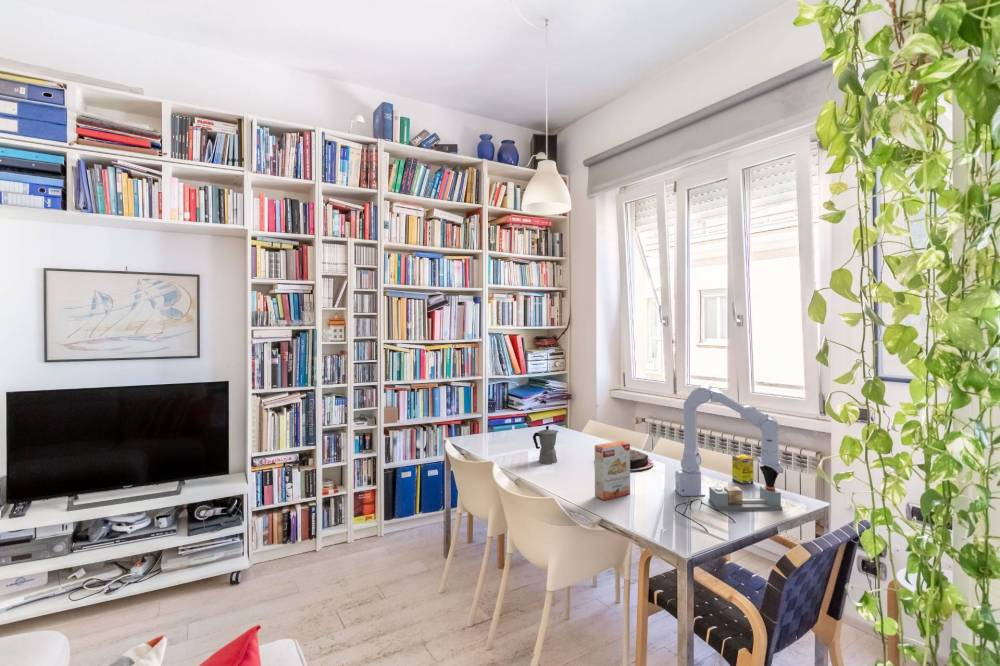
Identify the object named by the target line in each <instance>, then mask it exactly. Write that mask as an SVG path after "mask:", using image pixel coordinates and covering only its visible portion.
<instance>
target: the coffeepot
mask: <svg viewBox="0 0 1000 666" xmlns="http://www.w3.org/2000/svg"><path fill="white" fill-rule="evenodd" d="M549 427H550V426H549V425H546V426H545V429H542V430H539V431H537V432H534V433H533V435H532V439H533V443H534V446H535V448H536V450H537V449H538V450H539V449H540V450H539V457H538V462H539V463H540V464H544V465H552V463H554V464H556V463H557V462H558V458H557V452H556V449H555V445H556V441H557V435H558V434H557V433H558V432H559V430H556V429H550V428H549ZM537 437H538V439H539V443H538V441H537ZM538 444H540V446H538Z"/></svg>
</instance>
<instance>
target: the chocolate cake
mask: <svg viewBox="0 0 1000 666" xmlns="http://www.w3.org/2000/svg"><path fill="white" fill-rule="evenodd" d="M653 466H654V461H653V460H652V459H651V458H649V455H648V454H645V453H644V452H641V451H639V450H635V449H631V448H630V471H632V472H641V470H642V471H645V470H648V469H649V468H651V467H653Z"/></svg>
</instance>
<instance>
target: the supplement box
mask: <svg viewBox="0 0 1000 666" xmlns="http://www.w3.org/2000/svg"><path fill="white" fill-rule="evenodd" d="M731 457H732V459H731V460H732V461H731V462H732V463H731V467H732V468H731V470H732V472H731V473H732V475H731V477H732V478H731V479H732V481H733V482H735V483H737V484H740V485H742V486H743V485H748V484H754V457H752V456H750V455H749V456H748V455H746V454H738V455H732V456H731ZM749 482H751V483H749Z"/></svg>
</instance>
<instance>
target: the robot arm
mask: <svg viewBox="0 0 1000 666" xmlns="http://www.w3.org/2000/svg"><path fill="white" fill-rule="evenodd" d="M708 402H710V403H720V404H722V405H724V406H726V407H727V408H730V409H731V410H733V411H735V412H737V413H738V414H739V416H740V418H741V419H742V420H744V421H746V422H748V423H749V424H750V425H752V426H754V427H755V428H756V429H757V428H759V429H760V432H761V437H760V456H757V462H758V463H760V464H761V466H759V469H760V471H761V474H763V478H764V481H765V485H766V486H768V487H774V486H775V483H776V481H777V478H778V476H779V474H784V467H783V466H782V465H783V463H782V461H780V459H779V458H780V457H779V455H780V454H779V453H780V452H779V450H780V449H779V447H780V445H779V444H780V443H779V441H780V440H779V433H778V432H779V422H778V420H777V419H776V418H775V417H773V416H770V415H769V414H767V413H766V414H765V413H763V412H762V411H760V410H758V409H757V407H756V406H755V405H753V406H751V405H743V404H741V403H740V402H739V401H736V400H735V399H734V398H732V397H730V396H729V395H727V394H726V393H724V392H723V391H721V390H719V389H717V388H716V387H712V386H711V385H710V384H705V383H704V384H701V385H699V386H698V387H696V388H695V389H694V390H692V391H691V392H690V394H689V395H688V397H686V399H685V401H684V402H683V435H684V436H683V437H684V438H683V440H684V447H683V448H684V449H683V452H682V459H681V460H680V467H681V470H680V469H679V470H677V471H675V475H674V476H675V478H674V479H675V480H674V481H675V482H674V483H675V486H674V487H675V488H674V489H675V491H676V492H677V493H678V494H679V496H681V497H689V496H690V497H693V496H696V497H700V496H701V497H704V496H706V494H705V493H704V492H703V491H702V469H700V465H701V463H702V456H701V455H700V452H699V447H698V421H697V420H698V419H697V418H698V417H697V416H698V414H697V413H698V412H697V409H698V408H699V407H700V406H701V405H704V404H705V403H708Z"/></svg>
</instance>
